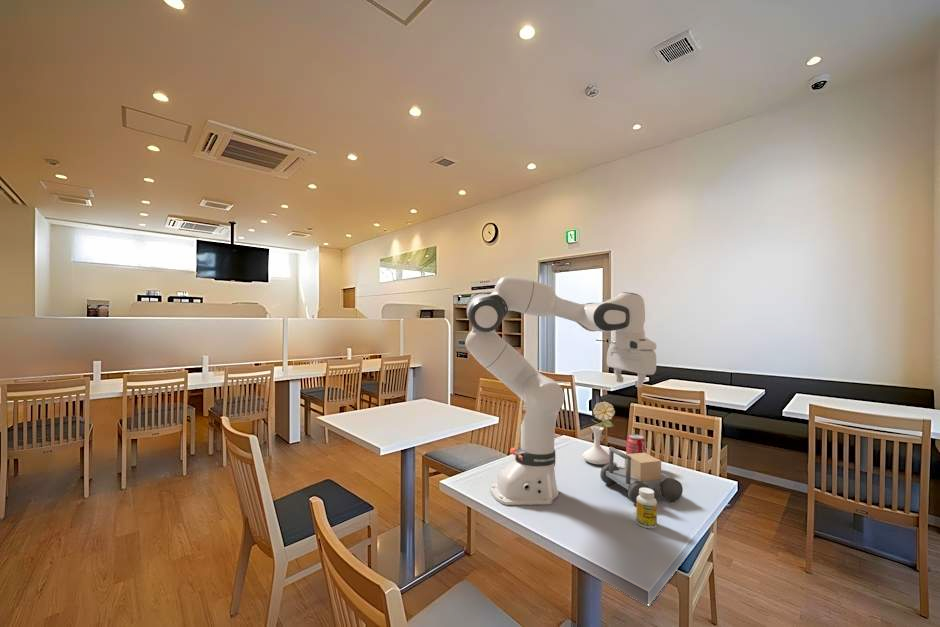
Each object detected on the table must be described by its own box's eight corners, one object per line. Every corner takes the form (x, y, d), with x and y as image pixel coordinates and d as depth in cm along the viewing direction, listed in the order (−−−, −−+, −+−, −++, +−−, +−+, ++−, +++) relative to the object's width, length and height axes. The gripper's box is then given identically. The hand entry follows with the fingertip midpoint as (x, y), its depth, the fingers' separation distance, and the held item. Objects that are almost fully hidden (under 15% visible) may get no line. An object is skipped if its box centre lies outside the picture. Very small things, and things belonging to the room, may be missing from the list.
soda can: (641, 463, 159) (642, 434, 159) (648, 470, 152) (648, 439, 152) (623, 462, 160) (624, 433, 160) (629, 469, 153) (629, 438, 153)
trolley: (631, 507, 122) (632, 460, 122) (600, 484, 139) (600, 443, 139) (682, 500, 127) (683, 456, 127) (646, 479, 144) (646, 440, 144)
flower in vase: (576, 461, 161) (577, 399, 161) (591, 454, 168) (592, 396, 168) (606, 471, 151) (607, 405, 151) (620, 463, 159) (622, 401, 159)
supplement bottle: (650, 519, 115) (651, 486, 115) (660, 529, 110) (661, 494, 110) (632, 519, 115) (633, 486, 115) (641, 529, 110) (642, 494, 110)
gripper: (602, 340, 138) (601, 379, 138) (643, 344, 119) (642, 390, 119) (617, 340, 140) (617, 379, 140) (660, 344, 121) (659, 390, 120)
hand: (628, 384), depth 129 cm, fingers open, 8 cm apart
